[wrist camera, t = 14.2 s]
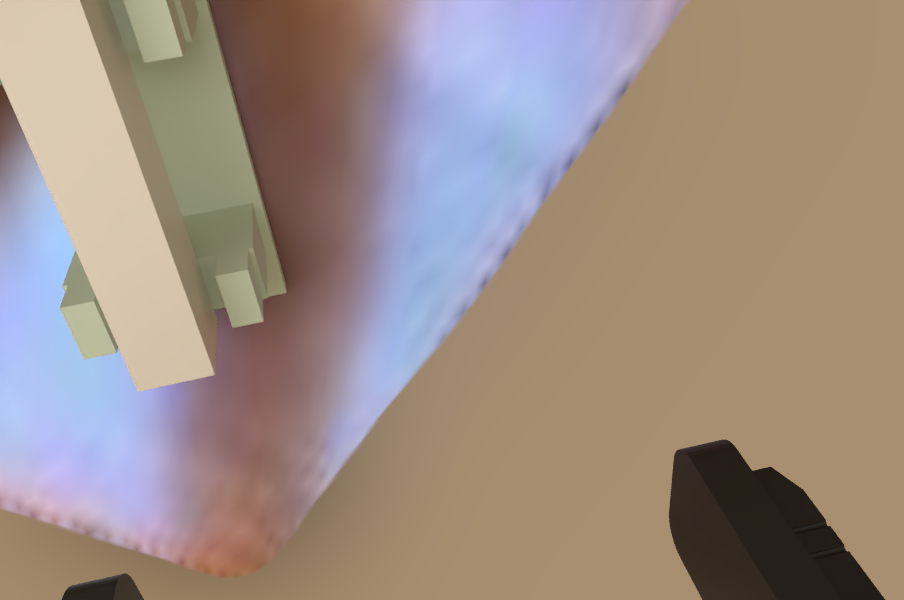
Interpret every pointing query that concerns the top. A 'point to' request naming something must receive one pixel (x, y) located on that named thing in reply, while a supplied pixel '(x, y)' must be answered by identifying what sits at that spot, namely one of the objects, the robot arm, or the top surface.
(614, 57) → the top surface
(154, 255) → the clay strip
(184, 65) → the sage green peg rail
